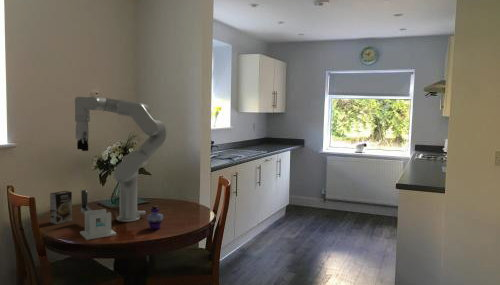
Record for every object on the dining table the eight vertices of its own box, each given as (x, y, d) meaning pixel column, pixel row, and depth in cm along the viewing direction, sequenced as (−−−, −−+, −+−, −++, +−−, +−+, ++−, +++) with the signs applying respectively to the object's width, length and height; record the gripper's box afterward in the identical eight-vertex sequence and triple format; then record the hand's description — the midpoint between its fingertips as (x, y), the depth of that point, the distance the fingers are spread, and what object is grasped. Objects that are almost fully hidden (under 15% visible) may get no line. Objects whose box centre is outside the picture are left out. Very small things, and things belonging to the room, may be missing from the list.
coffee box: (57, 224, 214) (56, 194, 212) (49, 222, 217) (49, 192, 216) (72, 220, 221) (72, 191, 220) (65, 218, 225) (64, 190, 224)
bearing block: (108, 228, 208) (108, 207, 207) (116, 234, 198) (116, 212, 197) (79, 233, 199) (79, 211, 199) (86, 239, 190) (86, 216, 189)
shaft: (86, 211, 220) (86, 189, 219) (98, 220, 203) (98, 197, 202) (81, 212, 218) (80, 190, 217) (92, 221, 201) (92, 197, 200)
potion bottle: (156, 225, 216) (156, 203, 215) (166, 228, 211) (167, 205, 210) (142, 228, 209) (142, 205, 208) (153, 232, 204) (153, 208, 203)
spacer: (102, 222, 201) (104, 224, 198) (102, 230, 202) (105, 232, 198) (90, 224, 198) (93, 226, 195) (91, 232, 198) (93, 234, 195)
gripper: (71, 118, 228) (71, 148, 230) (79, 119, 215) (79, 151, 216) (85, 118, 233) (85, 148, 234) (93, 119, 219) (94, 151, 220)
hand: (82, 150), depth 225 cm, fingers open, 9 cm apart
